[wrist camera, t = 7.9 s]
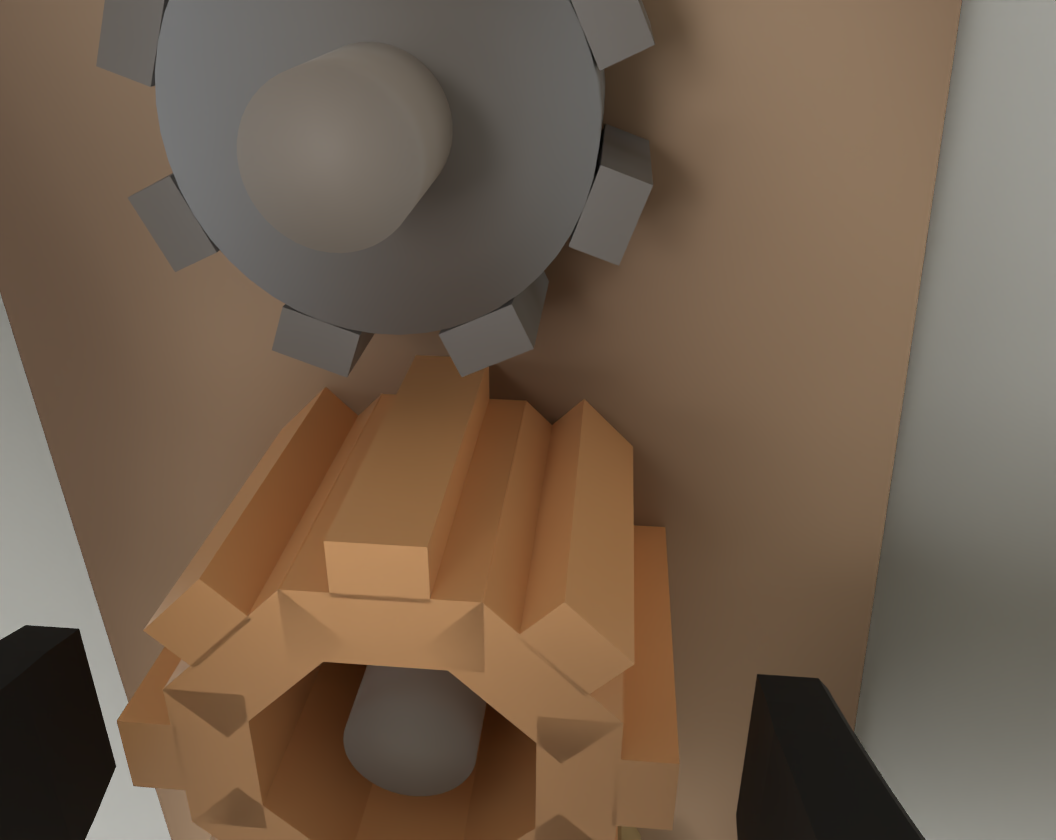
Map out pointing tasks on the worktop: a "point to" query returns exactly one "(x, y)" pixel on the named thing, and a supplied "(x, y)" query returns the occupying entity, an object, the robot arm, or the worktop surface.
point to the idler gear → (420, 625)
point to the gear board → (637, 341)
